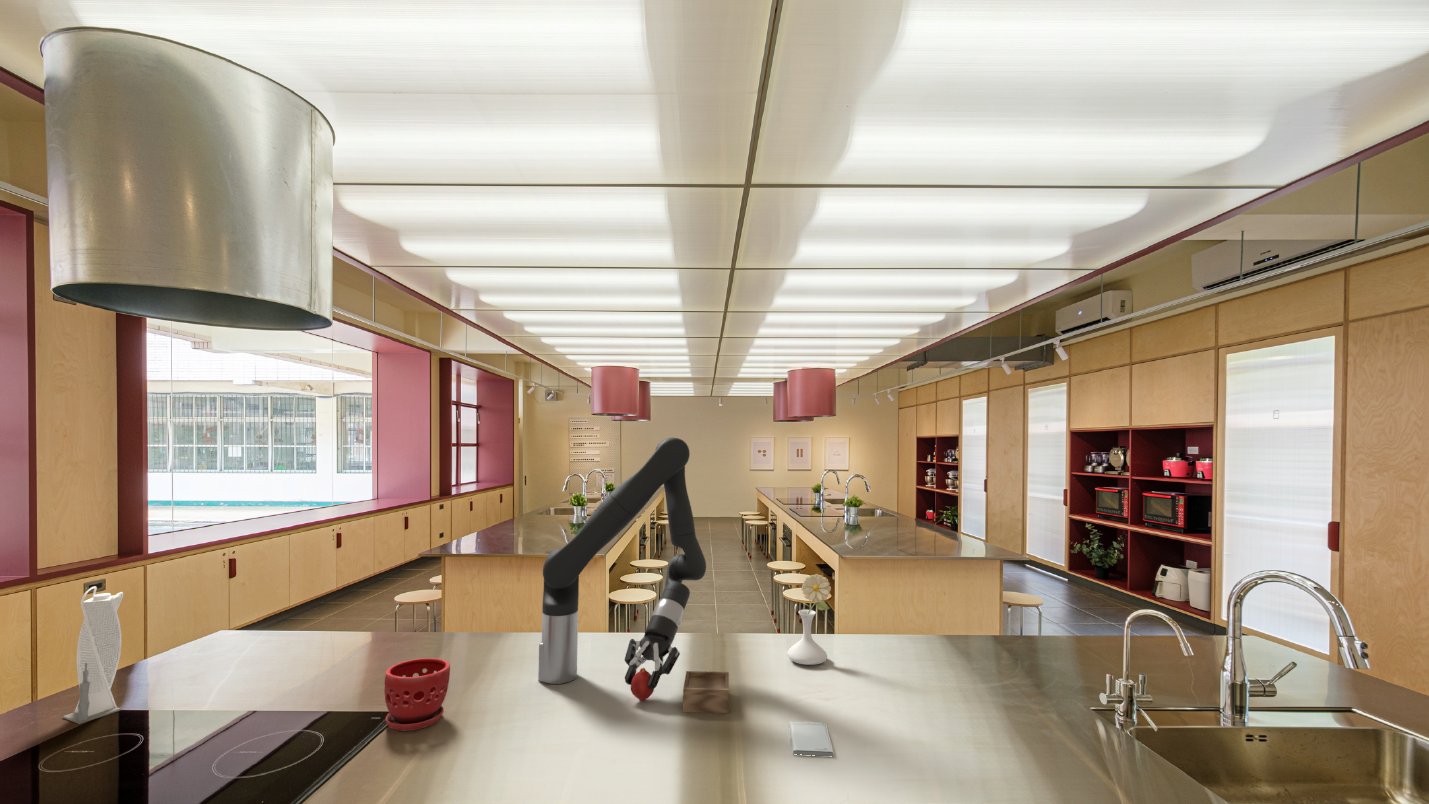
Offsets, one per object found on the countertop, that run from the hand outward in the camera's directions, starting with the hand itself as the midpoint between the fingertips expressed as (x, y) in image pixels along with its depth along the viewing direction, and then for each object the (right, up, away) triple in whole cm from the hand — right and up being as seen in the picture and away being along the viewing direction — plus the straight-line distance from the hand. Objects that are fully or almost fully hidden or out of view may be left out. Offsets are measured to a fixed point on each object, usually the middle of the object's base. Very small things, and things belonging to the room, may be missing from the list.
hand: (638, 685), depth 144 cm
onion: (+1, -5, +1) cm, 5 cm away
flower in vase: (+45, -6, +27) cm, 53 cm away
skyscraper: (-124, -3, -7) cm, 124 cm away
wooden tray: (+16, -4, +1) cm, 17 cm away
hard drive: (+38, -5, -17) cm, 42 cm away
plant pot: (-49, -4, -10) cm, 50 cm away
